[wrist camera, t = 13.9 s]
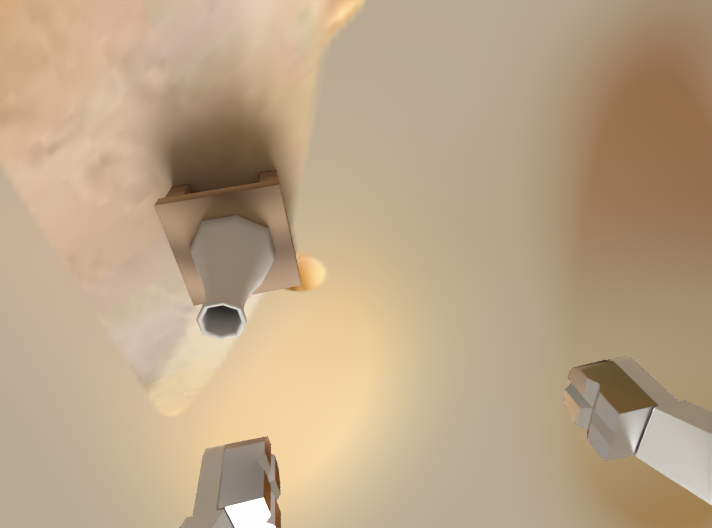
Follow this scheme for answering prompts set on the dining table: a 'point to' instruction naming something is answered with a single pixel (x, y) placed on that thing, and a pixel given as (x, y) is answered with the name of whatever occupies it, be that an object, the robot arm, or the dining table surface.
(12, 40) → the dining table surface
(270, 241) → the flask
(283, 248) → the walnut stand
